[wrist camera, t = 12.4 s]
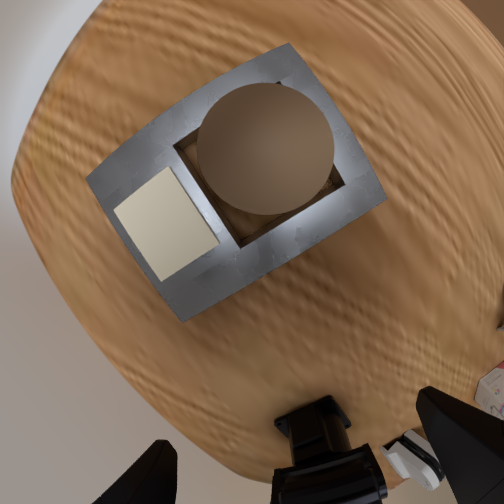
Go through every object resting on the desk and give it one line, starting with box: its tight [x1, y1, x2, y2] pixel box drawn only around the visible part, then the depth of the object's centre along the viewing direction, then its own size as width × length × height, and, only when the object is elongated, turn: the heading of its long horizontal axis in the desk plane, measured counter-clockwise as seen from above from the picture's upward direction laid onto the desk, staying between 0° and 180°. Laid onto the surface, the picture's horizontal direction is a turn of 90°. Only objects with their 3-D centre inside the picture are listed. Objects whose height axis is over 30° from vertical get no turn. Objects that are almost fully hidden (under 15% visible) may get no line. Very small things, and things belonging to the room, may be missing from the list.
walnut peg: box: [197, 83, 334, 215], centre depth 13 cm, size 4×4×10 cm
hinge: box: [379, 429, 446, 491], centre depth 24 cm, size 17×5×10 cm, turn 33°
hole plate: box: [85, 43, 387, 323], centre depth 17 cm, size 12×16×3 cm
